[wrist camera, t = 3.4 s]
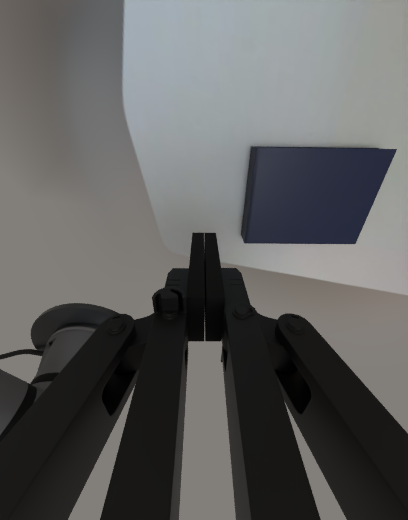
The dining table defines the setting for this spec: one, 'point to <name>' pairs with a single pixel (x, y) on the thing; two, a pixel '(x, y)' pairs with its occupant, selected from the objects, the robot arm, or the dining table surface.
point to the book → (311, 193)
